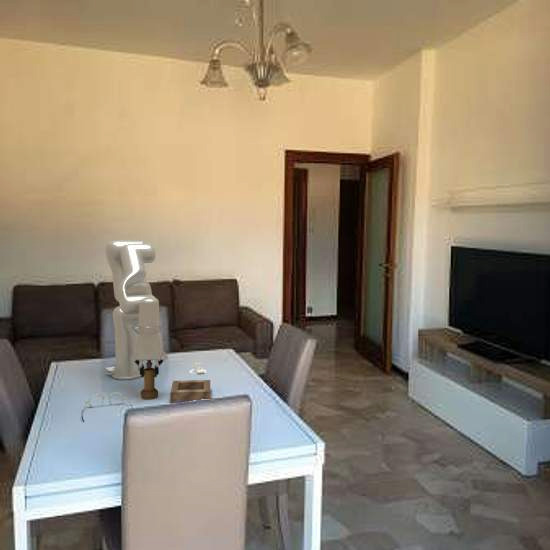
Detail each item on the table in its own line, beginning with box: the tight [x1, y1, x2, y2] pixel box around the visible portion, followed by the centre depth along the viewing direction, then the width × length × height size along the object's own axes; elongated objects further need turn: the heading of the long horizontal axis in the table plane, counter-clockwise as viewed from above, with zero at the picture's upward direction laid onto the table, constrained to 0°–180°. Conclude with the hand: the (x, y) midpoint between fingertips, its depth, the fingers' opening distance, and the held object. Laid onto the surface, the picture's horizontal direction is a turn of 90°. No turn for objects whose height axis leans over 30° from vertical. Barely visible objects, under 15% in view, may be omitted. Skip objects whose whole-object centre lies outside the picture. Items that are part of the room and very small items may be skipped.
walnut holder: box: [169, 379, 211, 404], centre depth 203 cm, size 15×15×4 cm
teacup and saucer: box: [188, 362, 208, 375], centre depth 237 cm, size 9×8×4 cm
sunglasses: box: [81, 392, 134, 423], centre depth 184 cm, size 17×15×5 cm
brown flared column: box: [140, 360, 159, 401], centre depth 200 cm, size 7×6×18 cm
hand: (149, 375), depth 201 cm, fingers open, 4 cm apart
